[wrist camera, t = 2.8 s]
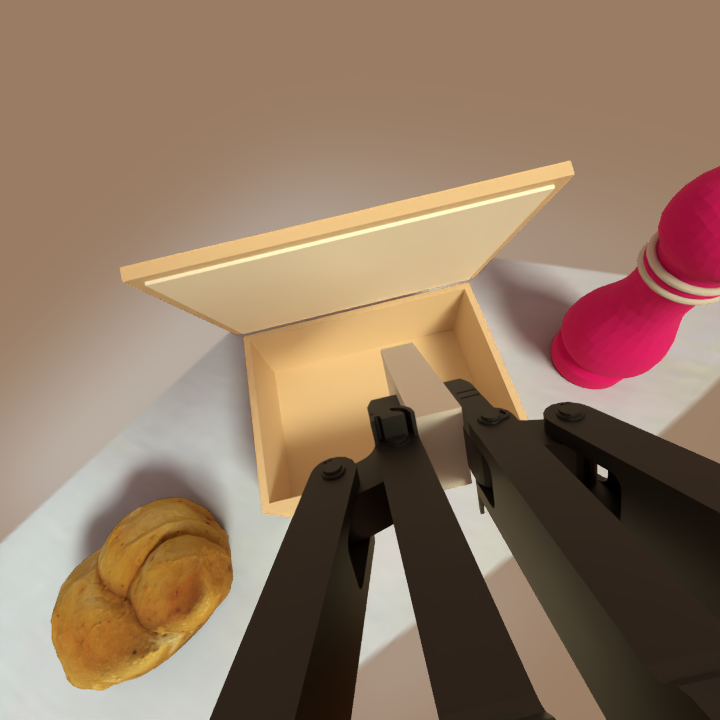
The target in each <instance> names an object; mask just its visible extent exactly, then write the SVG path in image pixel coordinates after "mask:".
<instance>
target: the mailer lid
mask: <svg viewBox="0 0 720 720" xmlns="http://www.w3.org/2000/svg"><path fill="white" fill-rule="evenodd" d="M573 175H574V170H573V167H572V164H571V161H566V162H562V163H558V164H554V165H550V166H546V167H542V168H537V169H533V170H529V171H524V172H520V173H516V174H512V175H507V176H503V177H499V178H495V179H491V180H487V181H482V182H478V183H474V184H469V185H465V186H461V187H457V188H453V189H448V190H445V191H440V192H436V193H432V194H427V195H423V196H419V197H415V198H410V199H406V200H402V201H398V202H394V203H390V204H385V205H381V206H377V207H373V208H368V209H364V210H361V211H356V212H352V213H347V214H343V215H339V216H335V217H330V218H326V219H322V220H318V221H314V222H309V223H305V224H301V225H297V226H293V227H289V228H284V229H280V230H276V231H272V232H267V233H264V234H259V235H255V236H251V237H247V238H242V239H238V240H234V241H230V242H225V243H221V244H217V245H213V246H209V247H204V248H201V249H196V250H192V251H187V252H183V253H179V254H175V255H171V256H167V257H162V258H158V259H154V260H150V261H145V262H141V263H137V264H133V265H129V266H124V267H120V272H121V277H122V282H124V283H126V284H128V285H130V286H132V287H135V288H137V289H139V290H141V291H143V292H145V293H148V294H150V295H152V296H154V297H156V298H158V299H160V300H163V301H165V302H167V303H169V304H172V305H173V306H176V307H178V308H180V309H182V310H184V311H186V312H189V313H191V314H193V315H195V316H197V317H199V318H202V319H204V320H206V321H208V322H210V323H212V324H215V325H217V326H219V327H221V328H223V329H225V330H228V331H230V332H232V333H234V334H236V335H240V334H246V333H250V332H254V331H259V330H263V329H267V328H271V327H275V326H279V325H283V324H288V323H292V322H296V321H300V320H304V319H308V318H312V317H316V316H321V315H325V314H329V313H333V312H337V311H341V310H345V309H350V308H354V307H358V306H362V305H366V304H370V303H374V302H379V301H383V300H387V299H391V298H395V297H399V296H403V295H407V294H412V293H416V292H420V291H424V290H428V289H432V288H436V287H441V286H445V285H449V284H453V283H457V282H461V281H465V280H468V279H471V278H474V277H475V276H476V275H477V274H478V273H479V272H480V271H481V270H482V269H483V268H484V267H485V266H486V264H487V263H488V262H489V261H490V260H491V259H492V258H493V257H494V256H495V255H496V254H497V253H498V252H499V251H500V250H501V249H502V248H503V247H504V246H505V245H506V244H507V243H508V242H509V241H510V240H511V239H512V238H513V237H514V236H515V235H516V234H517V233H518V232H519V231H520V229H522V228H523V227H524V226H525V224H527V223H528V222H529V220H530V219H531V218H532V217H533V216H534V215H535V214H536V213H537V212H538V211H539V210H540V209H541V208H542V207H543V206H544V205H545V204H546V203H547V202H548V201H549V200H550V199H551V198H552V197H553V196H554V195H555V194H556V193H557V192H558V191H559V190H560V189H561V188H562V187H563V185H565V184H566V182H568V180H569V179H571V178H572V176H573Z"/></svg>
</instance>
